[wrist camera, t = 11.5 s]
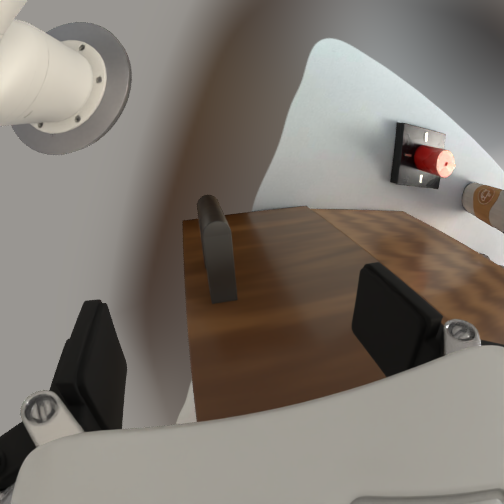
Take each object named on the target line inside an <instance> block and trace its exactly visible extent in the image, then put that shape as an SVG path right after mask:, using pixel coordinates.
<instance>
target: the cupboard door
mask: <svg viewBox="0 0 504 504" xmlns="http://www.w3.org/2000/svg"><path fill="white" fill-rule="evenodd" d="M197 210H198V218H199V219H192V220H184V221H183V252H184V253H183V254H184V277H185V295H186V312H187V327H188V340H189V352H190V363H191V373H192V383H193V393H194V402H195V410H196V419H197V422H202V421H209V420H216V419H223V418H229V417H235V416H241V415H246V414H251V413H257V412H262V411H267V410H272V409H276V408H281V407H285V406H290V405H294V404H298V403H302V402H306V401H310V400H314V399H318V398H322V397H325V396H329V395H333V394H336V393H339V392H343V391H346V390H350V389H353V388H356V387H359V386H363V385H366V384H369V383H372V382H375V381H378V380H381V379H384V378H387V377H386V376H385V374H384V373H383V372H382V370H381V369H380V368H379V366H378V365H377V364H376V362H375V361H374V360H373V358H372V357H371V356H370V354H369V353H368V352H367V350H366V349H365V348H364V346H363V345H362V344H361V343H360V341H359V340H358V339H357V337H356V336H355V335H354V333H353V331H352V319H353V313H354V307H355V301H356V294H357V288H358V281H359V273H360V270H361V269H362V268H363V267H364V265H365V264H369V263H375V262H379V261H378V260H376V259H375V258H374V257H373V256H371V255H370V254H369V253H368V252H366V251H365V250H364V249H363V248H361V247H360V246H359V245H358V244H356V243H355V242H354V241H352V240H351V239H350V238H348V237H347V236H346V235H345V234H343V233H342V232H341V231H339V230H338V229H337V228H335V227H334V226H333V225H331V224H330V223H329V222H327V221H326V220H325V219H323V218H322V217H321V216H319V215H318V214H317V213H315V212H314V211H313V210H311V209H310V208H309V207H307V206H300V207H290V208H281V209H272V210H263V211H255V212H247V213H238V214H230V215H224V213H223V211H222V209H221V207H220V205H219V202H218V200H217V199H216V198H215V197H214V196H212V195H204V196H202V197H201V198H200V199H199V200H198V203H197ZM382 265H383V264H382ZM387 269H388V268H387ZM388 270H389V269H388ZM392 273H393V272H392ZM393 274H394V273H393ZM398 278H399V277H398ZM399 279H400V278H399ZM404 283H405V282H404ZM405 284H406V283H405ZM410 288H411V287H410ZM411 289H412V288H411ZM416 293H417V292H416ZM417 294H418V293H417ZM418 295H419V294H418ZM423 299H424V298H423ZM424 300H425V299H424ZM425 301H426V300H425ZM431 306H432V305H431ZM432 307H433V306H432ZM433 308H434V307H433ZM439 313H440V312H439ZM440 314H441V313H440ZM441 315H442V314H441ZM442 316H443V315H442ZM447 321H449V320H447V319H446V318H445V317H444V316H443V318H442V321H441V323H442V324H443V325H444V324H445V323H446V322H447Z"/></svg>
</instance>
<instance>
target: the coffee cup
mask: <svg viewBox="0 0 504 504" xmlns="http://www.w3.org/2000/svg"><path fill="white" fill-rule="evenodd" d="M462 203H463V206H464V208H465V209H466V211H467V212H469V213H471V214H473V215H474V216H476V217H477V218H479V219H481V220H482V221H484V222H486V223H487V224H489V225H490V226H492V227H495V228H496V229H498V230H500V231H501V232H503V233H504V190H501V189H498V188H494V187H491V186H487V185H482V184H479V183H471V184H469V185H467V187H466V188H465V190H464V193H463V197H462Z"/></svg>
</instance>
